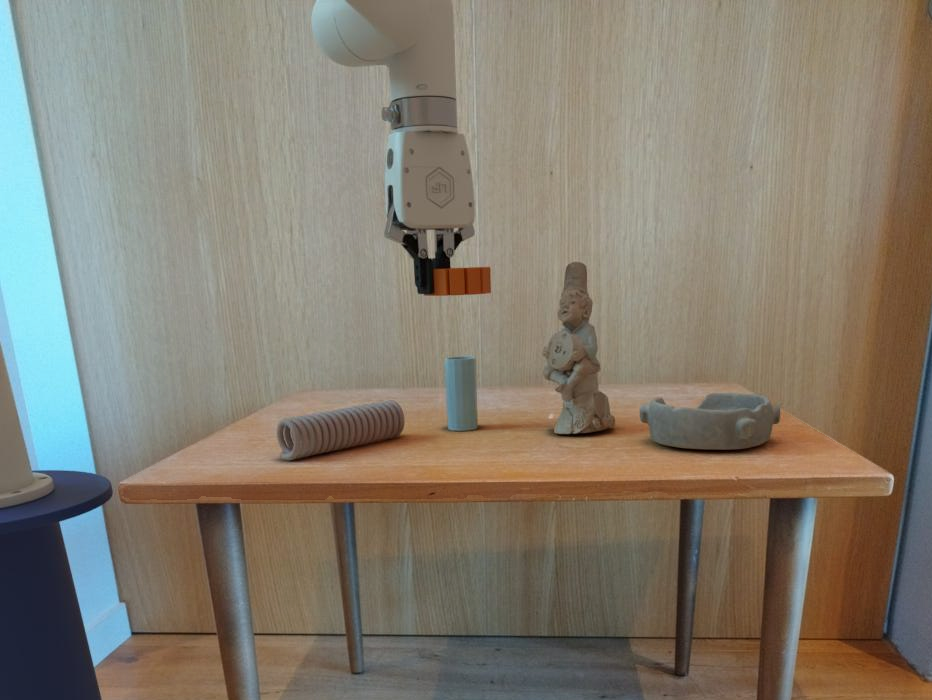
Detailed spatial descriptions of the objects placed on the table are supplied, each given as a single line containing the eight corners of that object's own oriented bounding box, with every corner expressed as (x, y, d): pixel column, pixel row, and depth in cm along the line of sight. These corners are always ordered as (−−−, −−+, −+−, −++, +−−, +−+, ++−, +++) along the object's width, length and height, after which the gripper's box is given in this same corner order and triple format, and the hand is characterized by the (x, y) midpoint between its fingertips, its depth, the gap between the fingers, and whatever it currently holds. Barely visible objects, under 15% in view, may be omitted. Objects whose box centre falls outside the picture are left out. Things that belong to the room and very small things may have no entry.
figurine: (572, 423, 115) (575, 261, 107) (626, 428, 110) (633, 259, 101) (533, 433, 109) (532, 263, 100) (587, 440, 104) (591, 261, 95)
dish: (624, 443, 101) (626, 400, 99) (697, 427, 109) (700, 387, 107) (727, 461, 91) (731, 413, 89) (798, 442, 99) (804, 398, 97)
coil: (383, 399, 109) (266, 420, 97) (407, 398, 106) (290, 419, 94) (388, 436, 111) (273, 460, 99) (412, 436, 108) (297, 461, 96)
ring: (444, 296, 101) (443, 268, 100) (412, 295, 108) (411, 269, 107) (503, 292, 105) (503, 266, 104) (468, 292, 112) (468, 267, 111)
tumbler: (457, 432, 111) (454, 360, 107) (442, 427, 114) (439, 358, 111) (483, 428, 113) (481, 357, 109) (467, 424, 116) (465, 355, 112)
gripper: (377, 112, 91) (390, 297, 98) (499, 119, 98) (502, 290, 106) (349, 122, 97) (363, 296, 104) (466, 128, 104) (471, 290, 112)
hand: (433, 292), depth 105 cm, fingers closed on ring, 1 cm apart
